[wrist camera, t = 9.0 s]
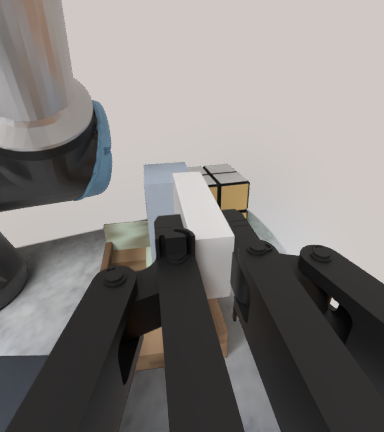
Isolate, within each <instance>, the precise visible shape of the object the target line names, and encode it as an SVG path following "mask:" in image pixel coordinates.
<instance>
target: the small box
mask: <svg viewBox="0 0 384 432" xmlns="http://www.w3.org/2000/svg"><path fill="white" fill-rule="evenodd" d="M48 356H49V355H41V356H34V355H33V356H0V432H5V430H6V429H7V427H8V425H9V424H10V422H11V420H12V418H13V417H14V415H15V413H16V411H17V410H18V408H19V406H20V405H21V403H22V401H23V399H24V398H25V396H26V394H27V392H28V391H29V389H30V387H31V386H32V384H33V382H34V380H35V379H36V377H37V375H38V373H39V372H40V370H41V368H42V367H43V365H44V363H45V361H46V360H47V358H48Z"/></svg>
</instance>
